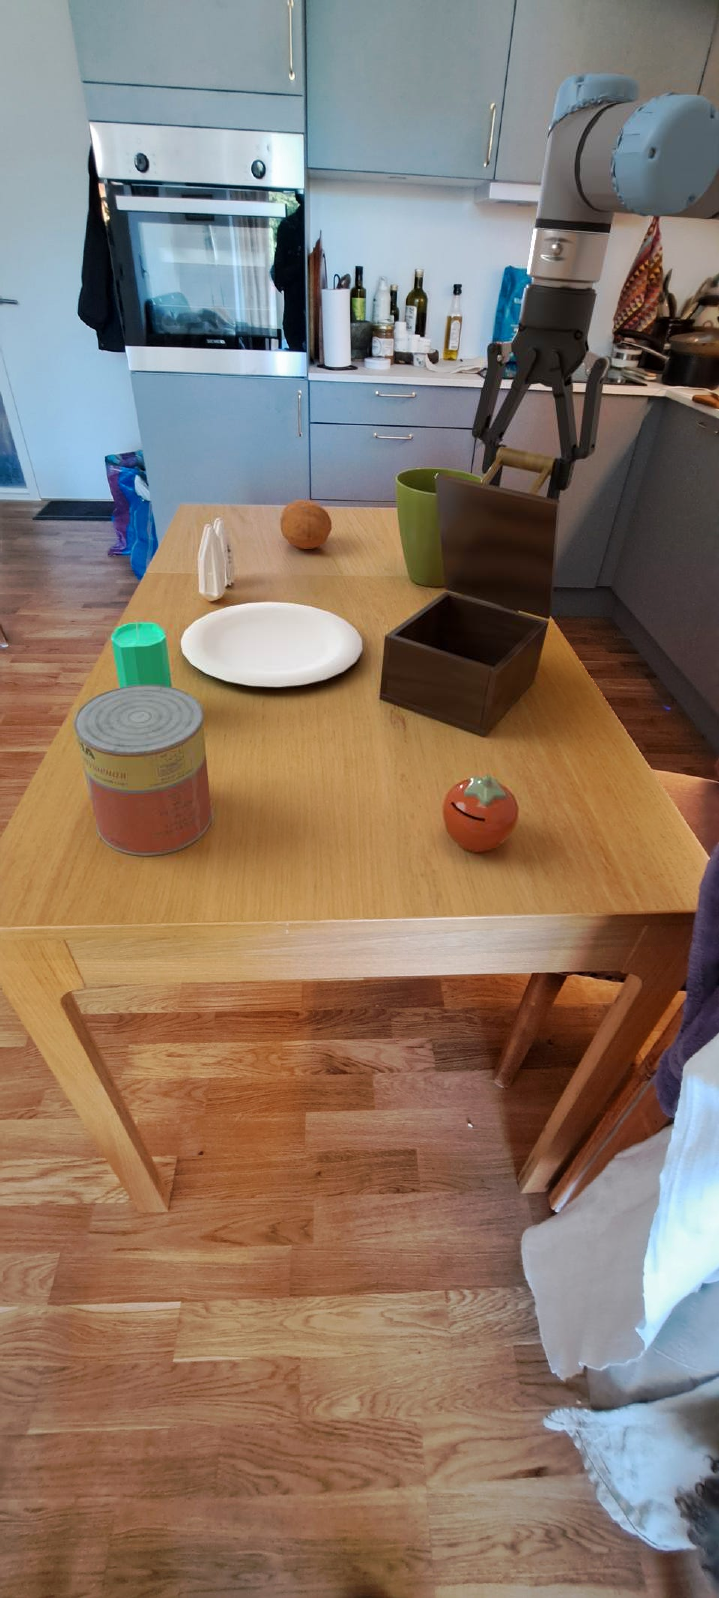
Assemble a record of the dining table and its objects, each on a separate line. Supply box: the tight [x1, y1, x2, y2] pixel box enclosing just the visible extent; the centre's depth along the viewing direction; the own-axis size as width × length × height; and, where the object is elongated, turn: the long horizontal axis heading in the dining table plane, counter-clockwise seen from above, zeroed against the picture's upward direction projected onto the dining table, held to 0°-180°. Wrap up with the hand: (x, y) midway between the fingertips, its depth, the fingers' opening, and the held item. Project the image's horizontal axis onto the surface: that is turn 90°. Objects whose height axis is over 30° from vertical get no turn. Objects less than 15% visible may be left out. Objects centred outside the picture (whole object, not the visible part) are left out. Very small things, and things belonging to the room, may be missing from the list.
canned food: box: [73, 685, 213, 857], centre depth 70 cm, size 11×11×12 cm
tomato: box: [441, 774, 520, 853], centre depth 71 cm, size 7×7×8 cm
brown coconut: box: [279, 499, 333, 550], centre depth 132 cm, size 9×11×8 cm
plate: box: [180, 601, 363, 689], centre depth 102 cm, size 25×25×2 cm
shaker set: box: [197, 517, 235, 602], centre depth 113 cm, size 12×4×11 cm, turn 177°
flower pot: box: [395, 467, 484, 588], centre depth 121 cm, size 15×15×16 cm
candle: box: [110, 620, 173, 688], centre depth 84 cm, size 6×6×12 cm
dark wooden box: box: [379, 590, 550, 738], centre depth 94 cm, size 17×15×9 cm
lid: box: [435, 446, 561, 620], centre depth 91 cm, size 18×15×10 cm
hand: (519, 508), depth 91 cm, fingers closed on lid, 7 cm apart
